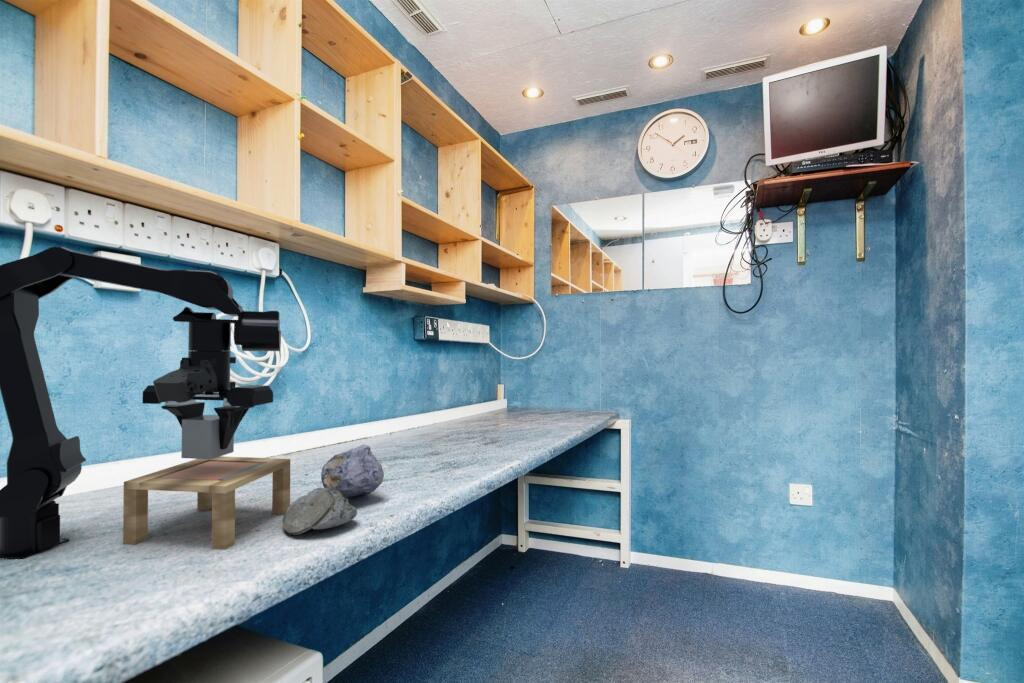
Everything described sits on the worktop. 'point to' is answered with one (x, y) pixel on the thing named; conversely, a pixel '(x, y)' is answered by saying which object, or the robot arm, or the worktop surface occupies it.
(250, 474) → the trapdoor frame
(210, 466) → the trapdoor
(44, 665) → the worktop surface
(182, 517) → the worktop surface
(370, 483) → the rock
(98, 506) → the worktop surface
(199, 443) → the grey block
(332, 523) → the fossilized seashell
